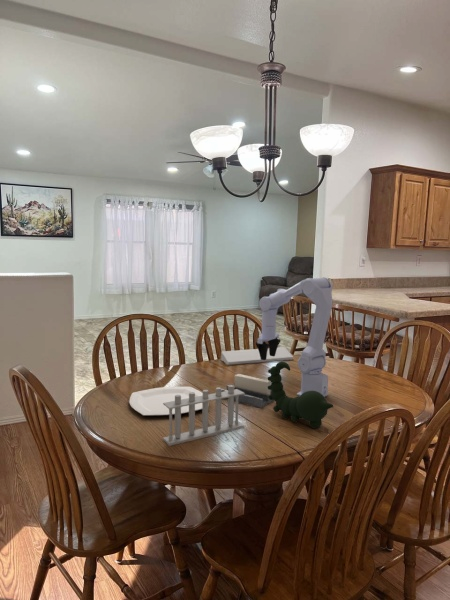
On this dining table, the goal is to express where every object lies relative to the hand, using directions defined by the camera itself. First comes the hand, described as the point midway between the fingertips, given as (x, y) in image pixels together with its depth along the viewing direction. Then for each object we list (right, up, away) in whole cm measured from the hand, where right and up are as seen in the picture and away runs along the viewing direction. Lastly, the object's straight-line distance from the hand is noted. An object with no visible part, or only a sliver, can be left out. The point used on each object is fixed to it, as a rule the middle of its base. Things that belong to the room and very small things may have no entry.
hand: (267, 357), depth 177 cm
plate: (-37, -13, -27) cm, 48 cm away
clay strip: (-8, -11, -19) cm, 23 cm away
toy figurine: (+6, -15, -40) cm, 44 cm away
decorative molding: (-2, -6, +33) cm, 33 cm away
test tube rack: (-24, -16, -51) cm, 58 cm away
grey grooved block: (-8, -12, -19) cm, 24 cm away
